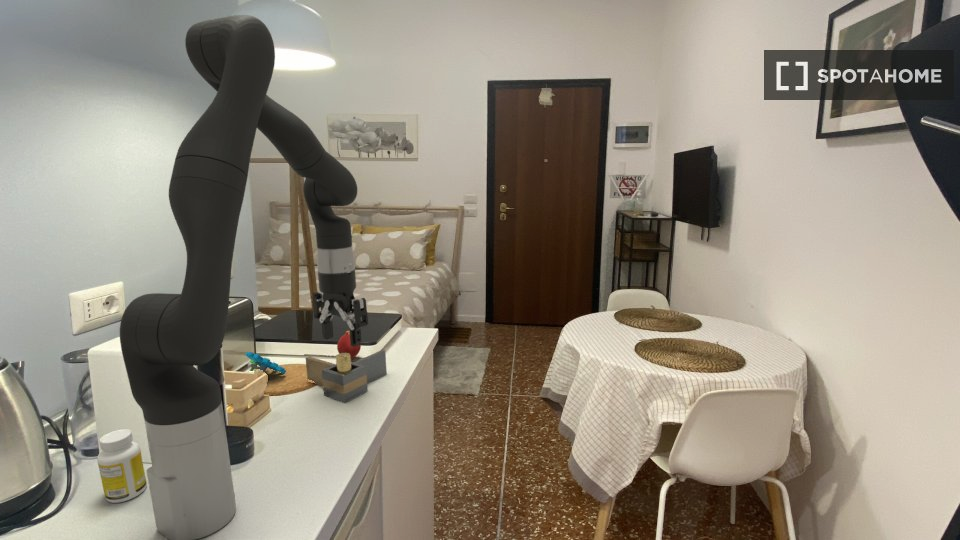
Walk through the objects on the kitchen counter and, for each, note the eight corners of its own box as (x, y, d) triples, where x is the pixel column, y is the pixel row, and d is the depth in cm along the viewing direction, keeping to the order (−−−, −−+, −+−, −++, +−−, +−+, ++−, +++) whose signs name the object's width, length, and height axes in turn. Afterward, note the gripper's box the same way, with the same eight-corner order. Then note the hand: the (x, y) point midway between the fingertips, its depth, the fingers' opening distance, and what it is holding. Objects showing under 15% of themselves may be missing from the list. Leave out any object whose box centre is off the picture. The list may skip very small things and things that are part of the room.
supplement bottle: (140, 477, 82) (130, 422, 80) (152, 490, 79) (142, 433, 77) (100, 494, 78) (89, 437, 76) (111, 509, 75) (100, 449, 73)
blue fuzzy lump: (295, 371, 120) (261, 351, 114) (281, 394, 117) (245, 375, 111) (273, 365, 127) (239, 346, 121) (259, 387, 125) (225, 369, 118)
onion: (336, 358, 132) (334, 328, 130) (358, 354, 134) (356, 325, 132) (340, 366, 127) (338, 335, 125) (363, 361, 129) (361, 332, 127)
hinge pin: (346, 398, 109) (342, 359, 107) (336, 394, 111) (332, 356, 109) (356, 392, 112) (353, 354, 110) (347, 389, 113) (343, 351, 111)
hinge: (344, 403, 107) (342, 376, 106) (297, 386, 115) (295, 361, 114) (395, 376, 120) (394, 352, 118) (349, 363, 128) (347, 341, 127)
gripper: (299, 268, 106) (306, 341, 110) (346, 275, 99) (351, 353, 102) (327, 262, 112) (333, 331, 116) (374, 268, 105) (378, 342, 108)
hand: (341, 341), depth 109 cm, fingers open, 8 cm apart
